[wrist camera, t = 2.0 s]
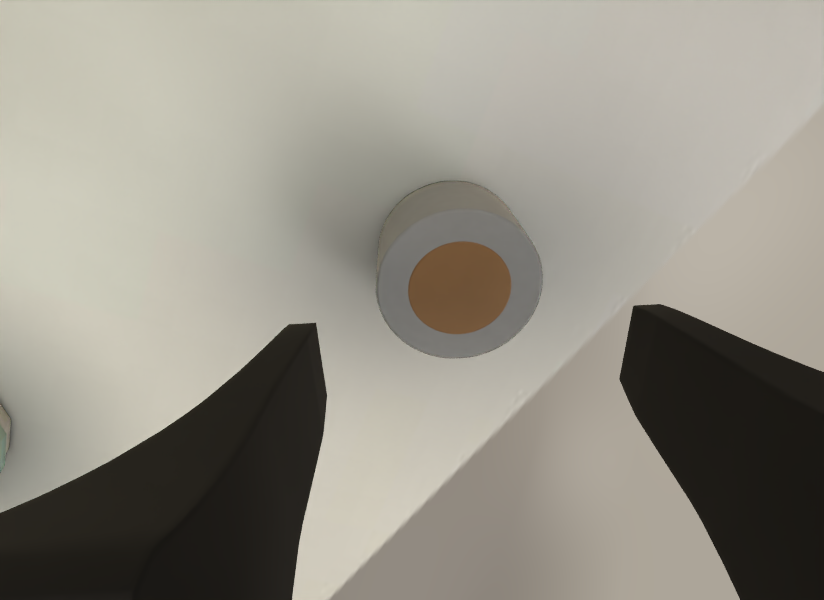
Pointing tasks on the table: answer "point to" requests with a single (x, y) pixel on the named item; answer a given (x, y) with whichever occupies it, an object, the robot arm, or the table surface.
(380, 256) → the tape
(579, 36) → the table surface
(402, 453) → the table surface
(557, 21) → the table surface
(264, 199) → the table surface
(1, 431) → the disposable coffee cup
